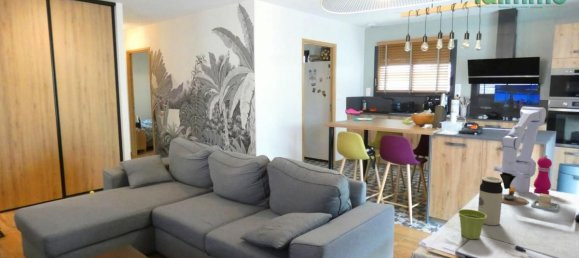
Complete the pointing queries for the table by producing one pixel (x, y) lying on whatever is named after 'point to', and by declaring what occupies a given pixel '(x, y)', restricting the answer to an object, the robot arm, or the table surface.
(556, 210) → the tray
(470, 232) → the plant pot
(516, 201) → the crank base
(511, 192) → the crank
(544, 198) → the stop block
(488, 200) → the travel mug
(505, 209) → the table surface
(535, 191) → the pepper mill
